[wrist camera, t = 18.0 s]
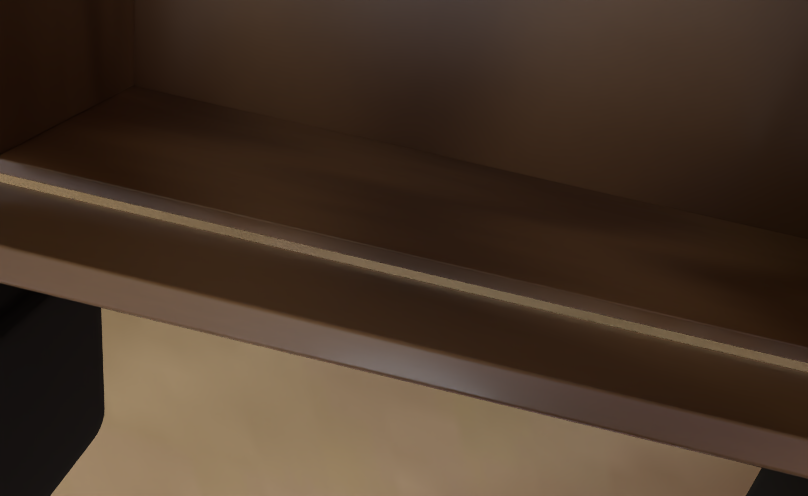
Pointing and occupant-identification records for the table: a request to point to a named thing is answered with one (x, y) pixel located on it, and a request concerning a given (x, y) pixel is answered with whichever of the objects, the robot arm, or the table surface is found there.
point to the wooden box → (451, 139)
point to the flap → (407, 329)
